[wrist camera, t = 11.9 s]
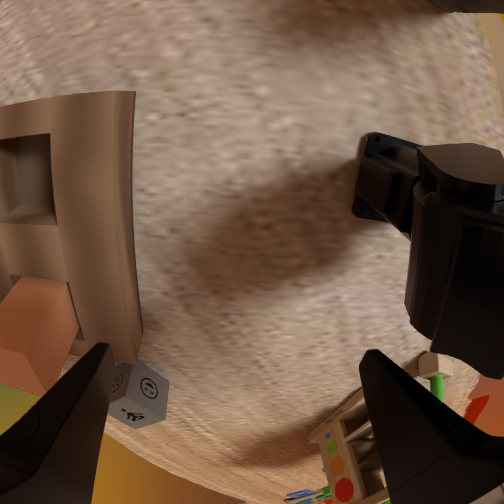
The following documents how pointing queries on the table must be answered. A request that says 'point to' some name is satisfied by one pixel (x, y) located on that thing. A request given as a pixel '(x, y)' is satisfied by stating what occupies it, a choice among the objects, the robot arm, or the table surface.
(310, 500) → the shape sorter
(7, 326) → the pin
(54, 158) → the socket block
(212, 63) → the table surface
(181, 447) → the table surface
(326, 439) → the pounding bench toy
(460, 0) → the beverage cup
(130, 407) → the dice cube
